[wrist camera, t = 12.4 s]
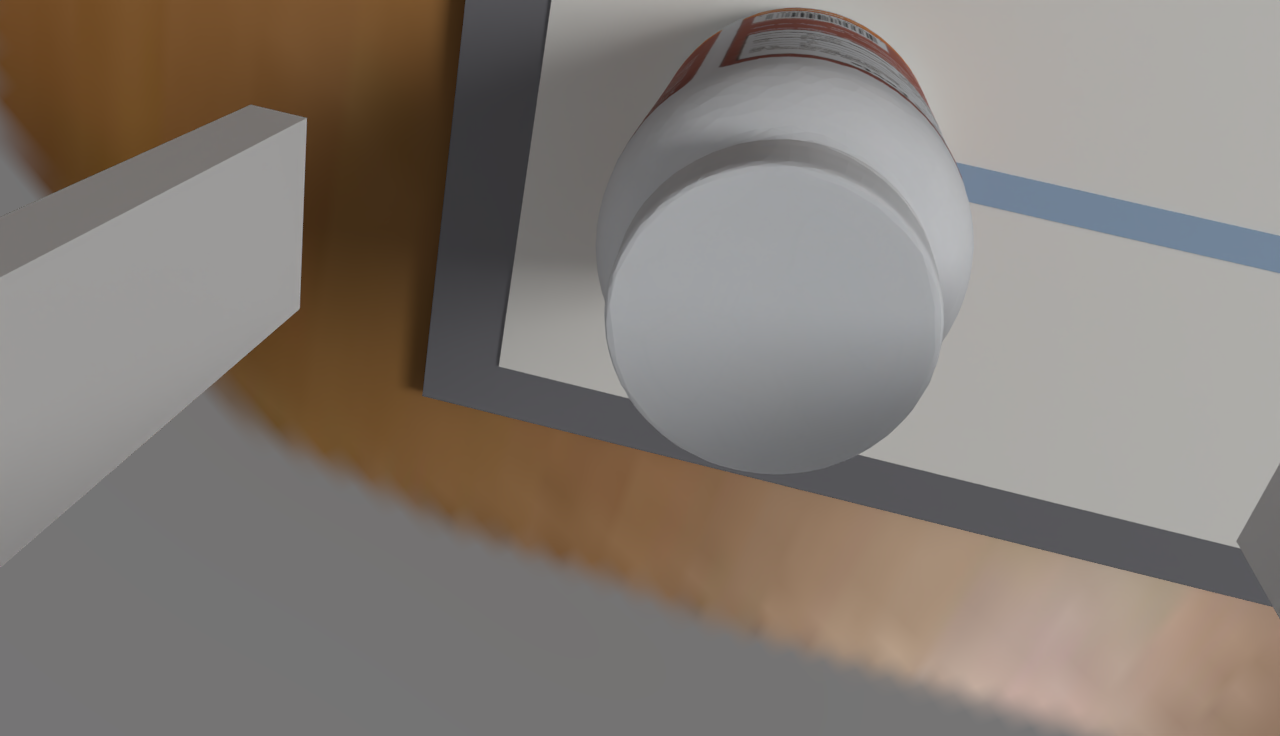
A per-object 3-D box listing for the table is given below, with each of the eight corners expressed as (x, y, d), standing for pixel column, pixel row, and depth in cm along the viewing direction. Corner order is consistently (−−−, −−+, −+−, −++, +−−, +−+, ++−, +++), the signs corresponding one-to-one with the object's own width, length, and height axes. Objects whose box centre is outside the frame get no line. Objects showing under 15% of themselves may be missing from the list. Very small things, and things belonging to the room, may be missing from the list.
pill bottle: (729, 309, 26) (670, 576, 17) (611, 83, 25) (465, 230, 15) (973, 205, 24) (1071, 437, 14) (865, -51, 22) (894, 16, 13)
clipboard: (516, -384, 22) (496, -400, 20) (2070, -72, 20) (2153, -68, 19) (429, 386, 30) (412, 409, 28) (1529, 658, 28) (1562, 695, 27)
